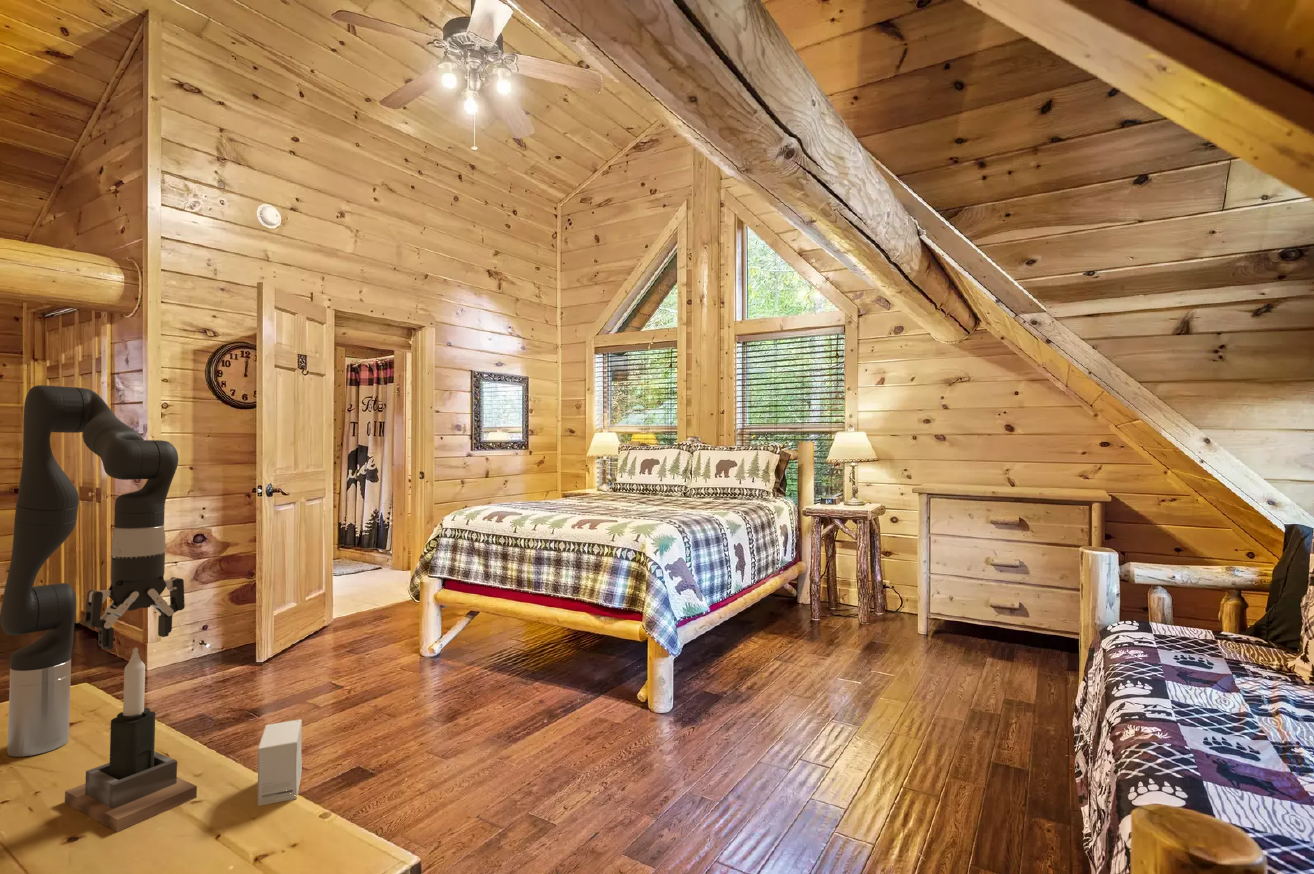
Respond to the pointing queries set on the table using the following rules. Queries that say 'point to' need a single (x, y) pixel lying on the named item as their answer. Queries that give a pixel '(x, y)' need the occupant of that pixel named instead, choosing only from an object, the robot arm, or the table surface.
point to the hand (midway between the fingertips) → (136, 642)
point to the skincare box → (279, 762)
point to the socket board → (131, 794)
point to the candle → (132, 726)
